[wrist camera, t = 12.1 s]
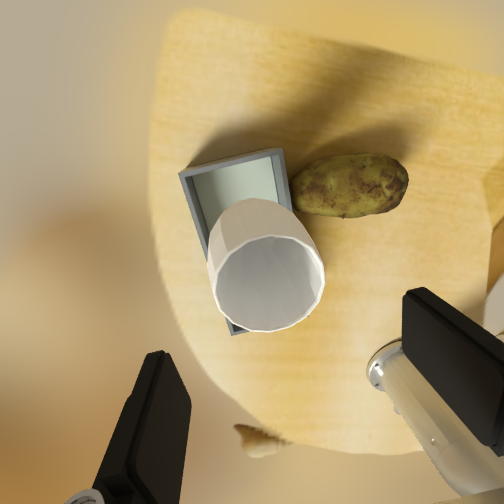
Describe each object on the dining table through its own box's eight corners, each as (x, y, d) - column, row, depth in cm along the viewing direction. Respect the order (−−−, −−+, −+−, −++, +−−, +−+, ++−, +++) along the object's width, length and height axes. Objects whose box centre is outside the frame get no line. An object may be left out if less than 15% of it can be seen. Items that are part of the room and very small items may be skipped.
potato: (293, 137, 31) (316, 136, 24) (386, 158, 34) (431, 162, 26) (278, 203, 34) (294, 220, 27) (364, 218, 37) (399, 237, 29)
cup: (243, 240, 35) (270, 358, 16) (201, 205, 32) (173, 295, 13) (281, 201, 33) (361, 280, 14) (240, 161, 31) (271, 191, 12)
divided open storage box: (297, 292, 40) (308, 316, 35) (229, 309, 40) (231, 335, 35) (272, 147, 31) (282, 148, 26) (185, 167, 31) (178, 173, 26)
